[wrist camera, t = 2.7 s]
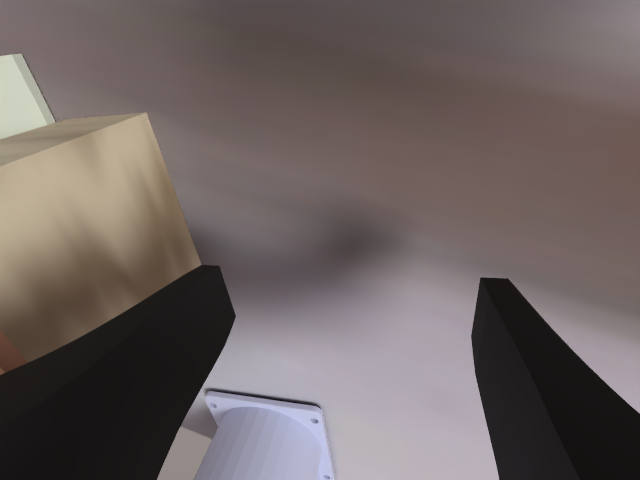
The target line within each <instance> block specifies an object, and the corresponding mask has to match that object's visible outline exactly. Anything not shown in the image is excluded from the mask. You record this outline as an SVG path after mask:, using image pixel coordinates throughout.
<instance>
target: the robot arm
mask: <svg viewBox="0 0 640 480" xmlns="http://www.w3.org/2000/svg"><path fill="white" fill-rule="evenodd" d="M235 317H236V315H235V312H234V309H233V306H232V303H231V300H230V297H229V294H228V291H227V288H226V285H225V282H224V279H223V276H222V273H221V270H220V267H219V266H209V265H201V266H199V267H197V268H195V269H193V270H191V271H189V272H188V273H186V274H184V275H183V276H181V277H179V278H178V279H176V280H175V281H173V282H171V283H170V284H168V285H167V286H165V287H163V288H162V289H160V290H159V291H157V292H155V293H154V294H152V295H151V296H149V297H147V298H146V299H144V300H143V301H141V302H139V303H138V304H136V305H135V306H133V307H131V308H130V309H128V310H126V311H125V312H123V313H121V314H120V315H118V316H116V317H114V318H113V319H111V320H109V321H108V322H106V323H104V324H103V325H101V326H99V327H97V328H96V329H94V330H92V331H90V332H89V333H87V334H85V335H83V336H81V337H79V338H77V339H76V340H74V341H72V342H70V343H68V344H66V345H64V346H62V347H60V348H58V349H56V350H54V351H52V352H50V353H48V354H46V355H44V356H42V357H40V358H37V359H35V360H33V361H31V362H28V363H26V364H24V365H22V366H19V367H17V368H15V369H13V370H10V371H8V372H6V373H4V374H1V375H0V480H157V477H158V475H159V473H160V470H161V468H162V465H163V463H164V461H165V458H166V456H167V454H168V451H169V450H170V447H171V445H172V443H173V441H174V438H175V436H176V434H177V432H178V430H179V428H180V426H181V424H182V422H183V420H184V418H185V416H186V414H187V413H188V411H189V409H190V407H191V405H192V404H193V402H194V400H195V398H196V397H197V395H198V393H199V391H200V389H201V388H202V386H203V384H204V382H205V381H206V379H207V377H208V375H209V373H210V372H211V370H212V368H213V366H214V364H215V363H216V361H217V359H218V357H219V355H220V353H221V351H222V350H223V348H224V346H225V343H226V341H227V338H228V336H229V334H230V331H231V328H232V325H233V323H234V320H235ZM471 338H472V348H473V357H474V366H475V374H476V379H477V383H478V388H479V392H480V396H481V401H482V405H483V409H484V414H485V418H486V422H487V426H488V431H489V435H490V439H491V443H492V448H493V452H494V456H495V461H496V465H497V469H498V474H499V480H640V414H639V413H638V412H637V411H636V410H635V409H633V408H632V407H631V406H630V405H629V404H628V403H627V402H626V401H625V400H623V399H622V398H621V397H620V396H619V395H618V394H617V393H616V392H615V391H614V390H612V389H611V388H610V387H609V386H608V385H607V384H606V383H605V382H604V381H603V380H602V379H601V378H600V377H599V376H598V375H597V374H596V373H595V372H594V371H593V370H592V369H591V368H590V367H589V366H588V365H587V364H586V363H585V362H584V361H583V360H582V359H581V358H580V357H579V356H578V355H577V354H576V353H575V352H574V351H573V350H572V349H571V348H570V347H569V346H568V345H567V344H566V343H565V342H564V341H563V340H562V339H561V338H560V337H559V336H558V334H557V333H556V332H555V331H554V330H553V329H552V328H551V327H550V326H549V325H548V324H547V323H546V321H545V320H544V319H543V318H542V317H541V316H540V315H539V314H538V312H537V311H536V310H535V309H534V308H533V307H532V306H531V304H530V303H529V302H528V301H527V300H526V299H525V298H524V296H523V295H522V294H521V293H520V292H519V291H518V289H517V288H516V287H515V286H514V285H513V284H512V282H511V281H510V280H509V279H503V278H480V284H479V290H478V297H477V303H476V310H475V316H474V322H473V329H472V335H471ZM204 398H205V401H206V403H207V405H208V407H209V409H210V411H211V414H212V416H213V418H214V420H215V422H216V424H217V426H218V429H217V431H216V433H215V435H214V437H213V440H212V442H211V444H210V446H209V448H208V450H207V452H206V454H205V456H204V459H203V461H202V463H201V465H200V467H199V469H198V471H197V473H196V475H195V478H194V480H336V479H335V473H334V468H333V463H332V458H331V453H330V448H329V443H328V437H327V432H326V427H325V422H324V417H323V412H322V410H321V409H320V408H319V407H316V406H311V405H304V404H297V403H291V402H284V401H277V400H270V399H263V398H256V397H249V396H242V395H235V394H228V393H221V392H214V391H209V392H207V394H206V395H205V397H204Z"/></svg>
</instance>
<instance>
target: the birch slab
mask: <svg viewBox="0 0 640 480" xmlns="http://www.w3.org/2000/svg"><path fill="white" fill-rule="evenodd" d="M199 266H201V262H200V259H199V256H198V254H197V251H196V248H195V245H194V243H193V240H192V237H191V234H190V232H189V229H188V226H187V223H186V221H185V218H184V215H183V212H182V210H181V207H180V204H179V201H178V199H177V196H176V193H175V190H174V188H173V185H172V182H171V179H170V177H169V174H168V171H167V168H166V166H165V163H164V160H163V157H162V155H161V152H160V149H159V146H158V144H157V141H156V138H155V135H154V133H153V130H152V127H151V124H150V122H149V119H148V116H147V113H135V114H124V115H112V116H101V117H89V118H78V119H66V120H62V121H59V122H56V123H52V124H49V125H46V126H42V127H39V128H36V129H33V130H29V131H26V132H23V133H19V134H16V135H13V136H10V137H6V138H3V139H0V375H1V374H4V373H6V372H8V371H10V370H13V369H15V368H17V367H19V366H22V365H24V364H26V363H28V362H31V361H33V360H35V359H37V358H40V357H42V356H44V355H46V354H48V353H50V352H52V351H54V350H56V349H58V348H60V347H62V346H64V345H66V344H68V343H70V342H72V341H74V340H76V339H77V338H79V337H81V336H83V335H85V334H87V333H89V332H90V331H92V330H94V329H96V328H97V327H99V326H101V325H103V324H104V323H106V322H108V321H109V320H111V319H113V318H114V317H116V316H118V315H120V314H121V313H123V312H125V311H126V310H128V309H130V308H131V307H133V306H135V305H136V304H138V303H139V302H141V301H143V300H144V299H146V298H147V297H149V296H151V295H152V294H154V293H155V292H157V291H159V290H160V289H162V288H163V287H165V286H167V285H168V284H170V283H171V282H173V281H175V280H176V279H178V278H179V277H181V276H183V275H184V274H186V273H188V272H189V271H191V270H193V269H195V268H197V267H199Z"/></svg>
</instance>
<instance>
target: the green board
mask: <svg viewBox="0 0 640 480" xmlns="http://www.w3.org/2000/svg"><path fill="white" fill-rule="evenodd" d="M52 123H56V122H55V120H54V118H53V116H52V114H51V112H50V110H49V108H48V106H47V104H46V102H45V100H44V98H43V96H42V94H41V92H40V90H39V88H38V86H37V84H36V82H35V80H34V78H33V76H32V74H31V72H30V70H29V68H28V66H27V64H26V62H25V60H24V58H23V56H22V54H13V55H6V56H0V139H3V138H6V137H10V136H13V135H16V134H19V133H23V132H26V131H29V130H33V129H36V128H39V127H42V126H46V125H49V124H52Z"/></svg>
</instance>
